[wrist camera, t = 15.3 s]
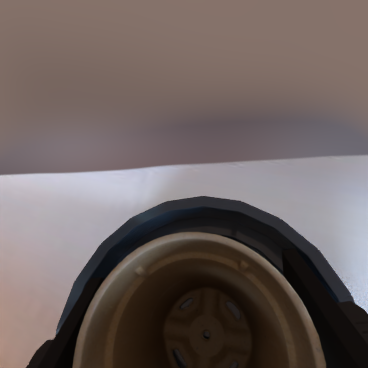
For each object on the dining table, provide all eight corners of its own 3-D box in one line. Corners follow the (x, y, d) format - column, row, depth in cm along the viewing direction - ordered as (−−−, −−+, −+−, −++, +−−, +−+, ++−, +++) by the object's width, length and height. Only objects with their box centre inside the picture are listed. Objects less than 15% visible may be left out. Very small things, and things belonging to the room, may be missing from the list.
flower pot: (113, 362, 16) (19, 410, 9) (180, 241, 20) (153, 200, 12) (242, 470, 13) (267, 690, 6) (297, 304, 16) (360, 301, 9)
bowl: (59, 319, 19) (6, 323, 14) (207, 186, 22) (203, 155, 18) (202, 608, 12) (188, 797, 7) (388, 346, 15) (458, 362, 11)
